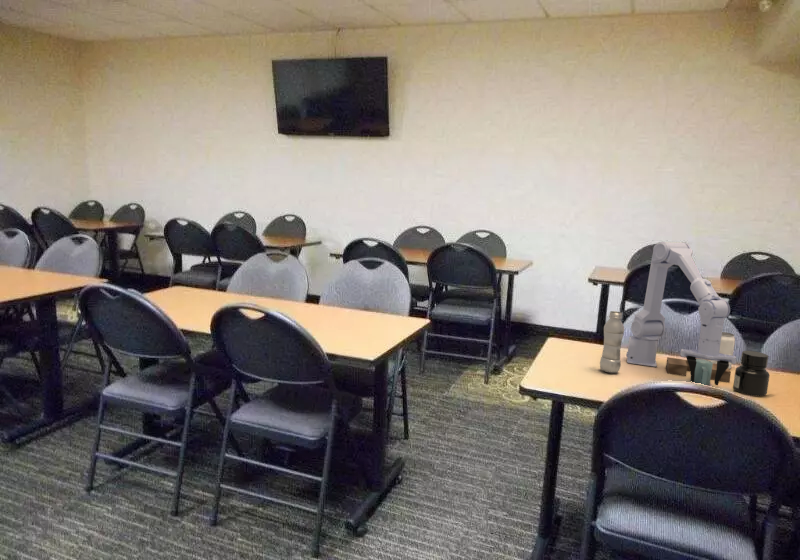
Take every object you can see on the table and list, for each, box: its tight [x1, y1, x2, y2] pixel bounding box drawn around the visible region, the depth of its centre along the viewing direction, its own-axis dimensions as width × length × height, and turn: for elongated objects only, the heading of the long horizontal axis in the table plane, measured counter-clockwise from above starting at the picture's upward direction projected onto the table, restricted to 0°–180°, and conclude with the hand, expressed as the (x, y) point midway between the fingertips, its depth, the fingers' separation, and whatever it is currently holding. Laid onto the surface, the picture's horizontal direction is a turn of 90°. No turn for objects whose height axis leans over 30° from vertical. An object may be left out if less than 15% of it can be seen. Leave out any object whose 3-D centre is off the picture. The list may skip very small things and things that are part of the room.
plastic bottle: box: [599, 310, 625, 374], centre depth 185 cm, size 6×7×20 cm
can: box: [710, 331, 736, 370], centre depth 198 cm, size 6×6×12 cm
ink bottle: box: [732, 350, 770, 397], centre depth 173 cm, size 10×9×12 cm
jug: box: [689, 358, 713, 386], centre depth 178 cm, size 6×11×7 cm, turn 159°
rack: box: [665, 357, 731, 383], centre depth 188 cm, size 18×8×4 cm, turn 69°
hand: (704, 382), depth 173 cm, fingers open, 6 cm apart
